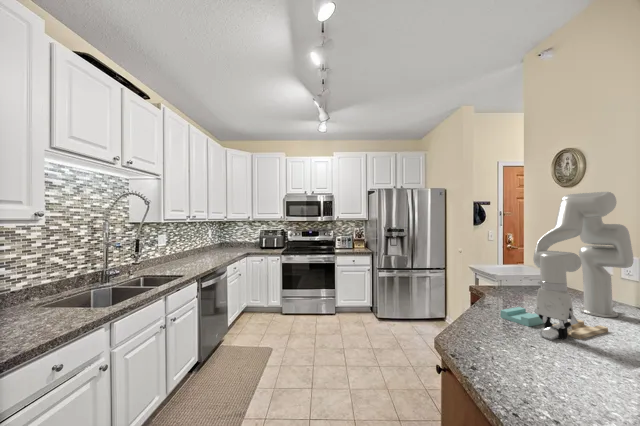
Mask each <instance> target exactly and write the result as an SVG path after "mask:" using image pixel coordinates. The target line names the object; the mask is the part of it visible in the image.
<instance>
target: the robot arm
mask: <svg viewBox="0 0 640 426" xmlns="http://www.w3.org/2000/svg"><path fill="white" fill-rule="evenodd" d="M616 206H617V197H616V196H615V194H614V193H612V192H611V191H597V192H596V191H595V192H582V193H581V192H579V193H570V194H566V195H564V196H562V198H561V201H560V204H559V207H558V210H557V215H556V219H555V223H554V227H553V228H551V230H548V231H547V232H546V233H544V234H543V235H542V236H541V237H540V238H539V239H538V241H537V242H536V246H535V249H534V252H533V263H534V266H536V267H537V268H539V269H540V270H539V272H540V280H537V284H538V285H540V287H539V288H538V289H537V295H536V303H535V304H536V307H535V309H534V311H533V312H534V314H535V313H536V314H537V315H538V316H539V317H540V318H541V319H542V322H543V325H544V326H543V327H544V328H543V329H545V328H548V327H551V326H552V325H553V323H552V322H551V321H552V319H554V320H558V321H559V322H558V323H560V326H561V328H559V338H558V339H559V340H564V339H567V338H568V337H569V336H568V334H567V328H568V327H570V326H571V325H574V324H577V323H578V321H577V318H576V316H575V315H574V308H573V307H574V306H573V301H572V297H571V294H570V292H569V291H568V283H567V281H568V280H567V273H575V272H576V271H578V270H579V269H580V268H582V269H581V270H582V283H583V285H582V286H583V287H582V289H583V305H584V306H581V307H580V308H579V311H580V312H581V313H583V314H587V315H590V316H596V317H601V318H617V317H619V313H618V312H617V311H614V308H616V307H617V306H616V303H614V302H613V288H612V287H613V285H612V276H611V273H610V272H608V270H606V269H605V268H606V267H607V268H617V269H618V268H619V269H628V268H631V267H632V266H633V264H634V252H633V248H632V247H633V246H632V241H631V235H630V231H629V230H628V228H627V226H625V225H624V224H620V223H604V222H603V217H606V216H608V215H609V214H610V213H612V212H613V211H614V210H615V208H616ZM576 237H579V238H580V240H581V242H582V243H583V244H586V245H584V246H582V247H580V248H579V251H578V254H576V253H574V252H572V251H571V252H570V251H559V250H548V249H549V248H550V247H551V246H553V245H556V244H557V243H558V244H559V243H560V242H564V241H566V240H567V241H568V240H570V239H574V238H576ZM568 321H569V322H568Z"/></svg>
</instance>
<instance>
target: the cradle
mask: <svg viewBox="0 0 640 426" xmlns="http://www.w3.org/2000/svg"><path fill="white" fill-rule="evenodd" d="M499 312H500V318H501V319H504V320H507V321H510V322H513V323H516V324H520V325H522V326H526V327H528V328H529V327H533V326H539V325H542V324H543V325H544V323H543V322H542V319H541V318H540V317H539V316H538V315H537V314H536V313H535V312H534V313H530V312H527V310H526V308H524V307H521V306H515V307H511V308H510V307H509V308H505V309H500V311H499Z"/></svg>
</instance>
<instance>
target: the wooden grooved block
mask: <svg viewBox="0 0 640 426" xmlns="http://www.w3.org/2000/svg"><path fill="white" fill-rule="evenodd" d="M576 319H577V318H576ZM569 321H570V320H568V322H569ZM577 321H578V323H577V324H574V325H571V327H572V332H571V333H569V334H568V336H567V337H571V338H574V339H577V340H581V339H585V338H589V337H593V336H597V335H600V334H604V333H608V332H609V327H608V326H604V325H600V324H599V325H595V326H591V325H587V324H585V321H584V320H582V319H577ZM559 323H560V322H558V323H554V324H553V323H552V326H554V325H557V324H559Z"/></svg>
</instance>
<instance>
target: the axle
mask: <svg viewBox="0 0 640 426" xmlns="http://www.w3.org/2000/svg"><path fill="white" fill-rule="evenodd" d="M558 323H559V324H558ZM558 323H556V324H557V325H554V326H551V327H548V328H545V329H544V328H543V329H541V330H539V335H540V337H541V338H543V339H546V340H547V341H553V340H556V339H560V338H559V328H561V326H560V322H558ZM571 332H572V327H571V326H570V327H568V328H567V334H569V333H571Z"/></svg>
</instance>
